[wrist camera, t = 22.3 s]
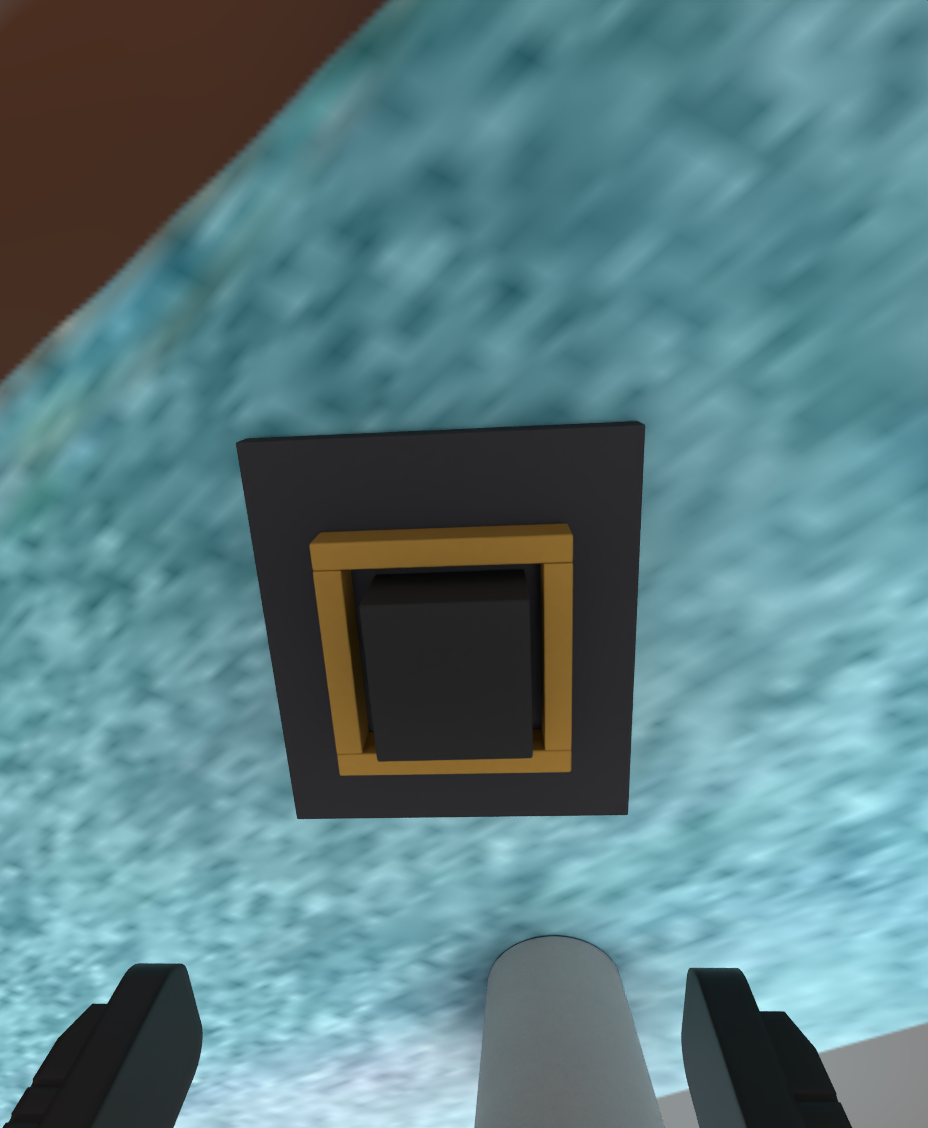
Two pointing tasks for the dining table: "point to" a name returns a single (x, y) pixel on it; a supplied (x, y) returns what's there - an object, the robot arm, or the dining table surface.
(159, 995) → the robot arm
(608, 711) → the base pad
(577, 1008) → the coffee cup
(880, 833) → the dining table surface
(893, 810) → the dining table surface
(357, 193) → the dining table surface
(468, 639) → the black block
